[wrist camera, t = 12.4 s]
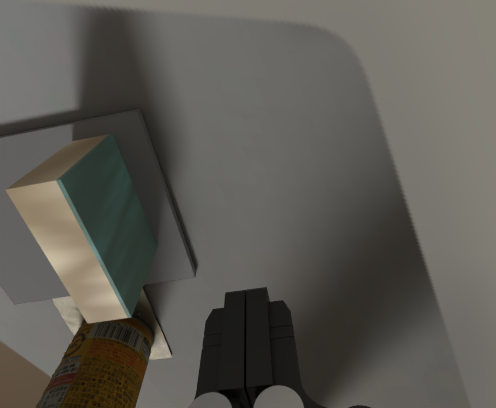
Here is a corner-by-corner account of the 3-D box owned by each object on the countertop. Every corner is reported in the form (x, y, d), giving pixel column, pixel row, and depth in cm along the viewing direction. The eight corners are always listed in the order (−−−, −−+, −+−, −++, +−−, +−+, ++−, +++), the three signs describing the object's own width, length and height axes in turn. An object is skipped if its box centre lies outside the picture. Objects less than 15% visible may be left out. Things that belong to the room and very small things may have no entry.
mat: (196, 271, 24) (195, 277, 24) (19, 298, 25) (14, 304, 25) (139, 108, 18) (136, 111, 18) (-87, 153, 20) (-96, 156, 19)
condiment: (92, 363, 29) (9, 553, 19) (50, 294, 25) (-85, 489, 15) (172, 354, 29) (132, 545, 19) (143, 283, 25) (69, 476, 14)
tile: (60, 179, 13) (131, 317, 17) (112, 133, 18) (157, 246, 22) (4, 189, 13) (87, 323, 17) (72, 141, 19) (124, 252, 23)
